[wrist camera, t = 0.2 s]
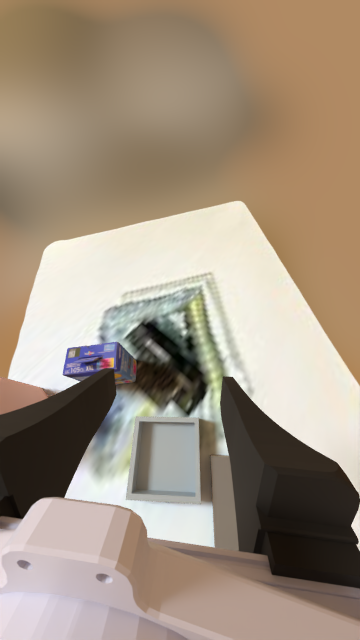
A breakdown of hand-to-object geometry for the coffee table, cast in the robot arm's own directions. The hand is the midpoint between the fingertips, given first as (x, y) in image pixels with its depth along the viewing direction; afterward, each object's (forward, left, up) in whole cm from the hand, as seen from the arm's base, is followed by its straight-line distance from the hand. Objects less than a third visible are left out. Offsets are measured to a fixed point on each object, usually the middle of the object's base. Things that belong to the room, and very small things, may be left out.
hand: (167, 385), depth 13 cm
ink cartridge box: (+8, +17, -31) cm, 37 cm away
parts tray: (-7, +4, -31) cm, 32 cm away
